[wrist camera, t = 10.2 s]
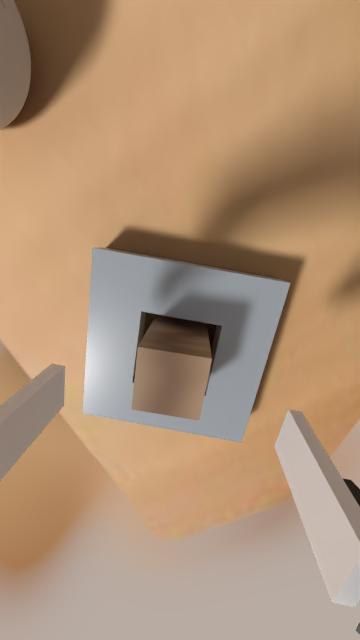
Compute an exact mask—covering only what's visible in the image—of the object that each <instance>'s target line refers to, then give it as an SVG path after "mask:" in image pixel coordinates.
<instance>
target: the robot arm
mask: <svg viewBox="0 0 360 640" xmlns="http://www.w3.org/2000/svg"><path fill="white" fill-rule="evenodd" d="M64 380H65V366H61V365H56V364H51V365H50V366H49V367H47V368H46V369H45V370H44V371H42V372H41V373H40V374H39V375H37V376H36V377H35V378H34V379H32V380H31V381H30V382H29V383H28V384H26V385H25V386H24V387H23V388H22V389H20V390H19V391H18V392H17V393H15V394H14V395H13V396H11V397H10V398H9V399H8V400H7V401H5V402H4V403H3V404H2V405H0V481H1V479H2V478H3V477H4V476H5V475H6V473H7V472H8V471H9V470H10V469H11V467H12V466H13V465H14V464H15V463H16V461H17V460H18V459H19V458H20V457H21V455H22V454H23V453H24V452H25V451H26V450H27V448H28V447H29V446H30V445H31V444H32V442H33V441H34V440H35V439H36V438H37V437H38V435H39V434H40V433H41V432H42V431H43V429H44V428H45V427H46V426H47V425H48V423H49V422H50V421H51V420H52V419H53V418H54V416H55V415H56V414H57V413H58V412H59V411H60V409H61V408H62V407H63V406H64ZM275 449H276V452H277V455H278V457H279V460H280V463H281V466H282V468H283V471H284V474H285V476H286V479H287V482H288V485H289V487H290V490H291V493H292V495H293V498H294V501H295V503H296V506H297V509H298V511H299V514H300V517H301V520H302V522H303V525H304V528H305V531H306V533H307V536H308V538H309V541H310V544H311V547H312V549H313V552H314V555H315V558H316V560H317V563H318V566H319V568H320V571H321V574H322V577H323V579H324V582H325V585H326V587H327V590H328V593H329V596H330V598H331V601H332V602H333V603H338V604H342V605H347V606H352V607H355V605H356V604H357V603H358V601H359V600H360V489H359V488H358V487H357V486H356V485H355V484H354V483H353V482H352V481H351V480H348V479H342V477H341V475H340V474H339V472H338V470H337V469H336V467H335V465H334V464H333V462H332V461H331V459H330V457H329V456H328V454H327V452H326V451H325V449H324V447H323V446H322V444H321V442H320V441H319V439H318V438H317V436H316V434H315V433H314V431H313V429H312V428H311V426H310V424H309V423H308V421H307V419H306V418H305V416H304V415H303V413H302V412H300V411H295V410H290V409H288V412H287V415H286V417H285V420H284V423H283V425H282V428H281V431H280V433H279V436H278V439H277V441H276V444H275ZM356 631H357V632H358V633H359V634H360V623H359V625H358V627H357V629H356Z"/></svg>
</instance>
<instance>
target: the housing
mask: <svg viewBox="0 0 360 640" xmlns="http://www.w3.org/2000/svg"><path fill="white" fill-rule="evenodd" d="M289 286H290V283H289V282H286V281H284V280H281V279H278V278H272V277H267V276H261V275H256V274H250V273H245V272H239V271H233V270H228V269H222V268H217V267H211V266H205V265H200V264H194V263H189V262H183V261H177V260H172V259H166V258H161V257H155V256H150V255H144V254H138V253H133V252H127V251H122V250H116V249H110V248H93V251H92V268H91V284H90V301H89V318H88V335H87V351H86V368H85V385H84V401H83V414H89V415H94V416H99V417H105V418H110V419H116V420H121V421H127V422H132V423H137V424H143V425H148V426H154V427H159V428H165V429H170V430H175V431H181V432H186V433H192V434H197V435H203V436H208V437H214V438H219V439H224V440H230V441H235V442H241V443H242V439H243V436H244V433H245V430H246V426H247V423H248V420H249V417H250V413H251V410H252V407H253V404H254V400H255V397H256V394H257V391H258V387H259V384H260V381H261V378H262V374H263V371H264V368H265V365H266V361H267V358H268V355H269V352H270V348H271V345H272V342H273V339H274V335H275V332H276V329H277V326H278V322H279V319H280V316H281V313H282V309H283V306H284V303H285V299H286V296H287V293H288V290H289ZM147 312H148V313H154V314H159V315H165V316H170V317H176V318H181V319H187V320H192V321H198V322H203V323H209V324H214V325H217V327H216V331H215V335H214V340H213V344H212V348H211V355H212V362H211V366H210V371H209V376H208V381H207V386H206V391H205V395H204V400H203V405H202V410H201V415H200V420H199V421H198V420H192V419H186V418H180V417H174V416H168V415H162V414H156V413H150V412H143V411H137V410H131V408H132V398H133V389H134V379H135V370H136V360H137V350H138V346H139V344H140V342H141V340H142V339H143V336H144V329H145V321H146V314H147Z"/></svg>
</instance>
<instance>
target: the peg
mask: <svg viewBox="0 0 360 640" xmlns="http://www.w3.org/2000/svg"><path fill="white" fill-rule="evenodd" d="M211 362H212V355H211V349H210V343H209V336H208V330H207V324H206V323H203V322H198V321H192V320H185V319H179V318H173V317H167V316H160V315H156V316H155V318H154V320H153V321H152V323H151V325H150V327H149V328H148V330H147V332H146V333H145V335H144V337H143V339H142V340H141V342H140V344H139V346H138V350H137V360H136V370H135V379H134V389H133V398H132V408H131V410H137V411H143V412H150V413H156V414H162V415H168V416H174V417H180V418H186V419H192V420H198V421H199V420H200V415H201V410H202V405H203V400H204V395H205V391H206V386H207V381H208V376H209V371H210V366H211Z"/></svg>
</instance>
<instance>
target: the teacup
mask: <svg viewBox="0 0 360 640" xmlns="http://www.w3.org/2000/svg"><path fill="white" fill-rule="evenodd" d="M30 80H31V57H30V49H29V43H28V38H27V34H26V31H25V28H24V24H23V21H22V18H21V16H20V13H19V11H18V8H17V6H16V4H15V2H14V0H0V130H1V129H3V128H4V127H6V126H7V125H8V124H10V123H11V122H12V121H13V120H14V119H15V118H16V117H17V115H18V114H19V112H20V111H21V109H22V108H23V106H24V103H25V101H26V98H27V95H28V92H29V87H30Z"/></svg>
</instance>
